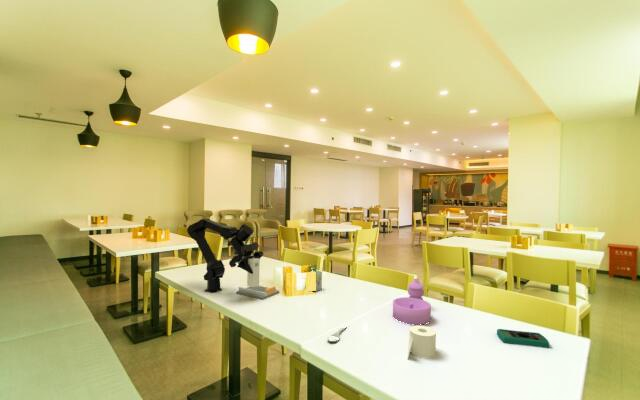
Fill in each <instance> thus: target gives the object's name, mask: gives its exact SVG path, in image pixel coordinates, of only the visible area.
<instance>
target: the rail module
mask: <svg viewBox="0 0 640 400" xmlns="http://www.w3.org/2000/svg"><path fill="white" fill-rule="evenodd" d="M260 260H261V258H260V259H258V258H251V259H248V264H249V265H250V267H251V269H252V271H253V273H252V274H251V273H249V272H247V275H246V277H247V278H246V279H247V282H246V283H247V284H246V285H247V287H256V286H259V285H260Z"/></svg>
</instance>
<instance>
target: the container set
mask: <svg viewBox="0 0 640 400" xmlns="http://www.w3.org/2000/svg"><path fill="white" fill-rule="evenodd" d="M407 285H408V288H407V294H408V295H409V297H405V296H404V297H398V298H394V299H393V301H392V318H393V317H394V318H395V319H397V320H398V321H401V322H404V323H407V324H414V325H420V324H421V326H423V325H422V324H426V323H428V322H430V323H431V321H432V320H431V318H432V317H431V316H432V310H431V309H432V305H431V303H430V302H428V301H426V300H424V299H423V296H424V295H425V291H424V290H425V289H424V287H425V286H424V284H423V283H422V282H419V279H418V278H414V279H413V281H410V282H409V283H408V284H407ZM394 318H393V319H394ZM395 319H394V320H395ZM430 320H431V321H430ZM398 321H397V322H398ZM407 324H406V325H407ZM414 325H413V326H414ZM426 325H427V324H426Z"/></svg>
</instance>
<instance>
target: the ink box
mask: <svg viewBox="0 0 640 400" xmlns="http://www.w3.org/2000/svg"><path fill="white" fill-rule="evenodd" d="M312 270H313V271H315V272H316V292H319V291H320V290H321V291H322V289H323V285H322V284H323V271H320V270H317V264H313V265H312V264H311V265H310V266H308V273H309V272H310V271H312ZM318 290H319V291H318Z"/></svg>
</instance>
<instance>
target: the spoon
mask: <svg viewBox="0 0 640 400" xmlns="http://www.w3.org/2000/svg"><path fill="white" fill-rule="evenodd" d="M344 329H345V328H340V329H339V330H338V331H336V332H335V333H332V334H331V335H330V336H335V337H338V338H339V339H340V338H341V337H340V333H341V332H343V331H344ZM345 330H346V329H345ZM327 341H328V342H333V343H335V342H338V340H337V341H335V340H332V341H330V340H329V339H328V338H327Z"/></svg>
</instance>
